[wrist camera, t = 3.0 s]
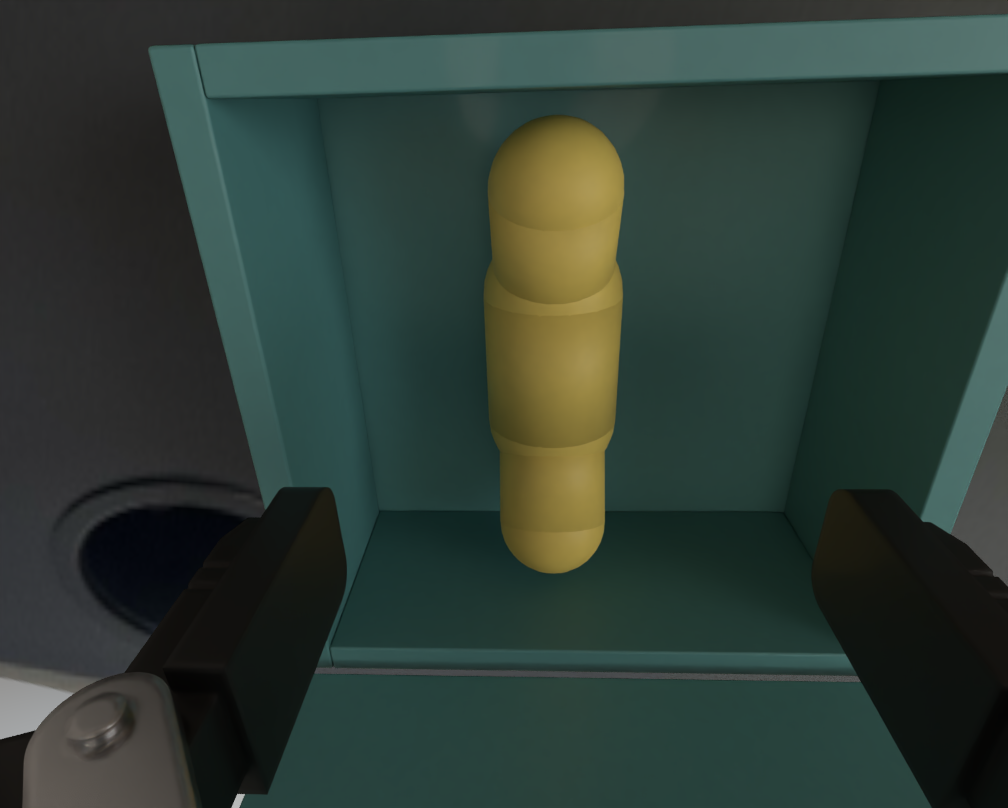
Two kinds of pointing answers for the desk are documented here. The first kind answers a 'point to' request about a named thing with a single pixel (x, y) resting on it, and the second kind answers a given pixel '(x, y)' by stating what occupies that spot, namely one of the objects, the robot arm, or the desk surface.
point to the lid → (587, 745)
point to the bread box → (645, 315)
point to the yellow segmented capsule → (553, 335)
